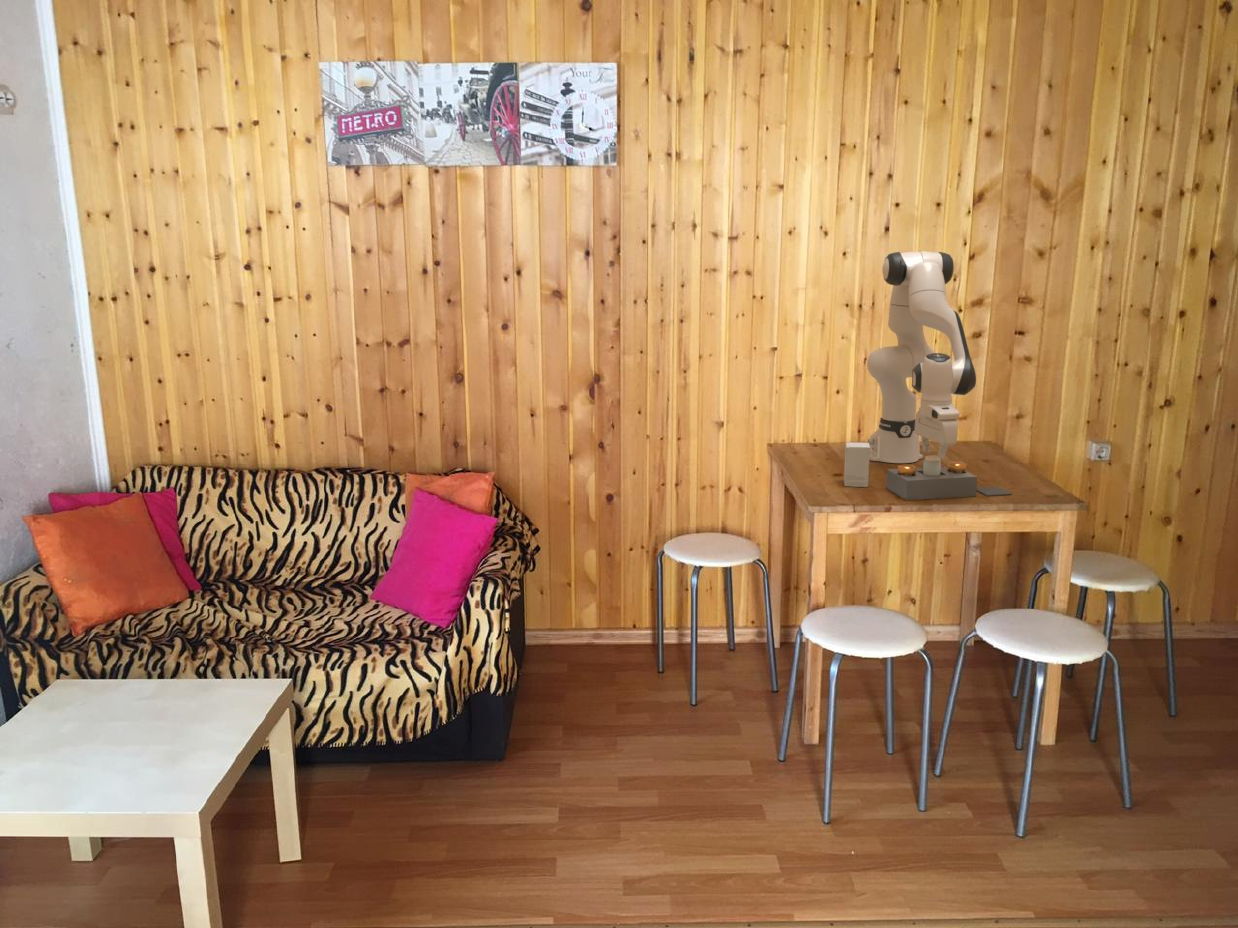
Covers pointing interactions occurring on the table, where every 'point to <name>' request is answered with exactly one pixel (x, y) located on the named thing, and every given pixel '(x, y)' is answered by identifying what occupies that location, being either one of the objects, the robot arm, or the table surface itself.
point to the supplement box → (856, 464)
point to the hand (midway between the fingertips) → (933, 454)
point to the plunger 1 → (906, 469)
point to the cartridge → (931, 465)
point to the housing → (932, 484)
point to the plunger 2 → (956, 467)
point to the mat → (993, 491)
